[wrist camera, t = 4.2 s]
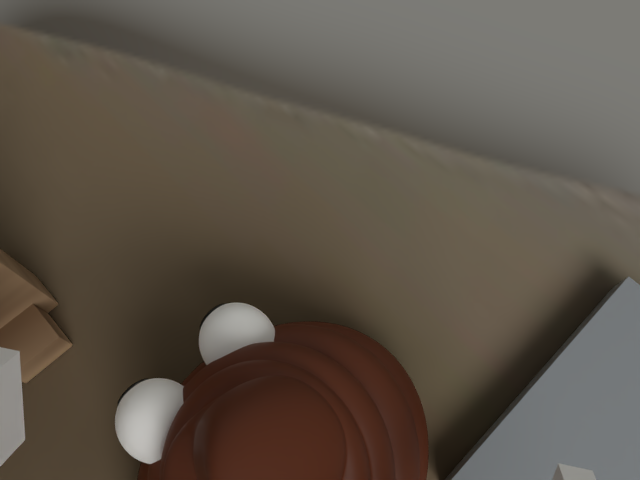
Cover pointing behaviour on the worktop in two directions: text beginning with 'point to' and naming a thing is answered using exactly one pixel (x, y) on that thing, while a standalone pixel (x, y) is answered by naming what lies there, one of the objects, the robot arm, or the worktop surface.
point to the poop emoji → (278, 407)
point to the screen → (28, 319)
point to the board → (574, 405)
